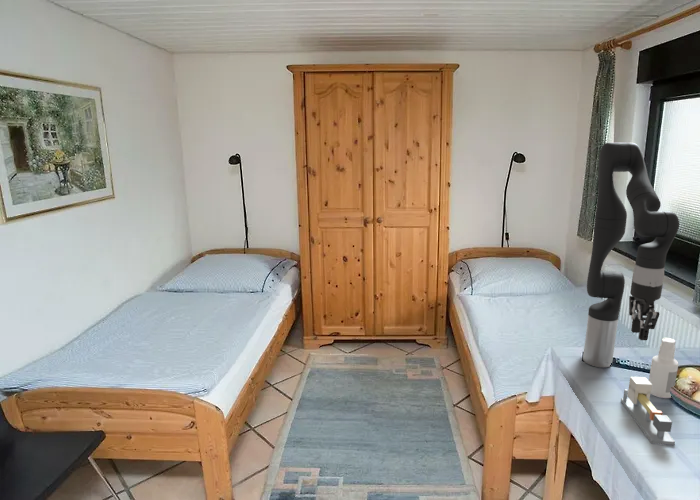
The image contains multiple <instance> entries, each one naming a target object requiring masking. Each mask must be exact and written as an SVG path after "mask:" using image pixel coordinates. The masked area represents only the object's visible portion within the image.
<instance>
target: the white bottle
mask: <svg viewBox="0 0 700 500" xmlns="http://www.w3.org/2000/svg"><path fill="white" fill-rule="evenodd" d="M675 352H676V339H673V338H670V337H662V339H661V343H660V345H659V351H658V354H656V355H654V356H652V359H651V363H650V370H649V376H648V377H649V378H648V381H649V382H650V383H651V384H652V388H651V394H650V395H651V396H654V397H657V398H659V399H660V398H661V399H671V398H672V397H671V394H670V388H671V387H673V386H675V385H676V380H677V375H678V369H679V362H678V360H677V359H676V358H675Z"/></svg>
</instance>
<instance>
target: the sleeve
mask: <svg viewBox="0 0 700 500" xmlns="http://www.w3.org/2000/svg"><path fill="white" fill-rule="evenodd" d="M629 377H630V378H629V384H628V389H627V390H628V395H627V399H630V400H631V402H632V403H633V404H637V398H638V393H643V394H644V395H645V396H646V397H647V398H648V400H649V401H650V400H651V399H650V398H651V395H652V394H651V388H652V384H651V383H650V382H649V378H647V377H645V376H629Z"/></svg>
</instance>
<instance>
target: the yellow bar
mask: <svg viewBox="0 0 700 500" xmlns="http://www.w3.org/2000/svg"><path fill="white" fill-rule="evenodd" d="M637 399H638V400H639V402H640V403H641V404H642V405H643V407H644V408H645V409H646V410H647V412H648V413H649V414H650V417H649V418H650V419H651V421H653V425H654V427H655V428H656V429H657V430H658V431H661V432H668V433H671V430H672V425H673V421H672V420H671V419H670V417H668V415H666V414H663V413H664V412H662V410H660V409H659V410H658V409H657V408H656V407H655V406H654V404H653V403H652V402H651V401H650V400H648V398H647V397H646V396H645V395H644V394H643V393H638V398H637Z"/></svg>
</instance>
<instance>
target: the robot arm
mask: <svg viewBox="0 0 700 500" xmlns="http://www.w3.org/2000/svg"><path fill="white" fill-rule="evenodd" d="M643 155H644V154H643V153H642V150H641V148H640V146H639V145H638V144H637V143H634V142H619V141H618V142H605V143H604V144H603V145H601V148H600V150H599V155H598V173H597V174H598V181H597V182H598V184H597V185H598V187H597V196H596V197H597V198H596V199H597V200H596V207H595V214H594V224H593V237H592V238H593V239H592V249H591V256H590V261H589V268H588V273H587V280H586V292H587V295H588V296H589V297H591V298H596V299H597V298H599V299H605V300H602V301H600V302H596V303H592V304H591V305H590V306H589V307H588V313H587V314H588V315H587V322H586V331H585V338H584V347H583V356H582V360H583V361H584V363H586V364H587V365H590V366H592V367H596V368H609V367H611V366H612V365H611V363H612V364H613V359H614V352H615V345H616V338H617V331H618V324H619V317H620V316H619V315H620V312H621V306H622V300H623V296H624V290H625V285H626V284H625V283H626V282H625V281H626V280H625V277H624V276H625V275H624V273H623V272H621V271H617V270H615V271H614V270H602V267H603V264H604V262H605V260H606V258H607V257H608V256H609V254H610V253H611V251H612V250H613V249H614V248H615V247H616V246H617V245H618V244H619V243H620V241H621V240H622V239H623V237H624V236H625V232H626V227H627V218H628V212H627V210H626V207H625V205H624V203H623V201H622V200H621V197H619V194H618V193H617V191H616V187H615V186H614V185H615V184H614V172H615V173H616V172H617V173H621V172H622V173H626V172H629V173H630V175H631V178H630V180H629V181H628V184H627V186H626V190H625V194H626V198H627V201H628V203H629V204H630V207H631V209H632V215H633V229H634V231H635V233H636V234H637V235H638V236H640V237H644V238H645V237H646V238H651V237H652V238H654V240H653V241H651V242H647V243H643V244H640V245H639V246H638V247H637V251H636V256H635V257H636V258H635V263H634V264H635V265H634V267H633V268H634V269H633V271H632V279H631V286H630V293H629V294H630V295H629V296H628V297H629V299H628V300H629V301H628V313H629V314H628V315H629V316H630V317H631V320H632V321H631V328H630V331H631V333H632V334H633V333H634V334H638V337H637V338H638V339H639V340H640V341H647V340H648V339H649V333H650V330H655V328H656V325H657V322H658V320H659V317H660V312H659V311H655V301H658V300H660V299H661V297H662V291H663V285H664V279H665V267H666V260H667V254H668V252H669V249H670V248H671V246H672V243H673V242H674V240H675V238H676V236H677V234H678V232H679V229H680V220H679V216H678V215H677V214H676V213H675V212H673V211H667V210H664V211H661V210H660V208H661V206H662V205H661V201H660V198H659V196H658V194H657V193H656V190H655V189H654V187H653V185H652V184H651V181H650V177H649V174H648V171H647V167H646V163H645V162H646V161H645V159H644V156H643ZM610 365H611V366H610Z"/></svg>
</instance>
